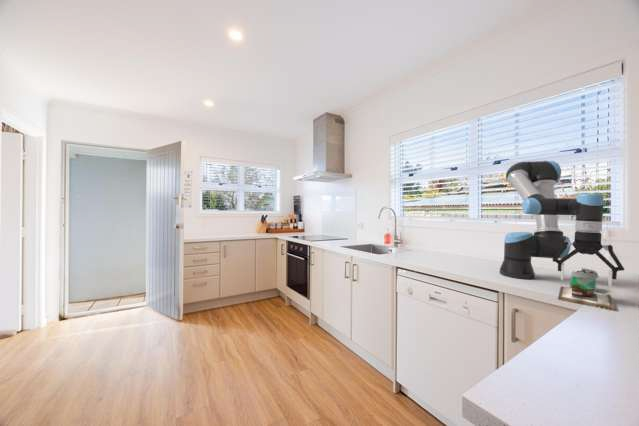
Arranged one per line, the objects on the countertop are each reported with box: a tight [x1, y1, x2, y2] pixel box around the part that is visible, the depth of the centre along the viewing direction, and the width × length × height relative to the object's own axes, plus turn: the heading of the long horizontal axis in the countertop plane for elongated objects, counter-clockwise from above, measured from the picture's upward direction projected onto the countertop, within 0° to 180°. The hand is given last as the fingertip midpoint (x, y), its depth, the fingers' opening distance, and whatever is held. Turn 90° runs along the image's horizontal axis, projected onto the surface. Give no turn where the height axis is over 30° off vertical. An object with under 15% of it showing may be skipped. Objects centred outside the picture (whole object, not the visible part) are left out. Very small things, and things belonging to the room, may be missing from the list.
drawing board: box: [557, 285, 615, 311], centre depth 106 cm, size 15×20×1 cm
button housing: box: [569, 277, 597, 292], centre depth 119 cm, size 8×8×3 cm
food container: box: [571, 267, 599, 297], centre depth 105 cm, size 12×6×10 cm, turn 120°
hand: (584, 282), depth 106 cm, fingers open, 13 cm apart
